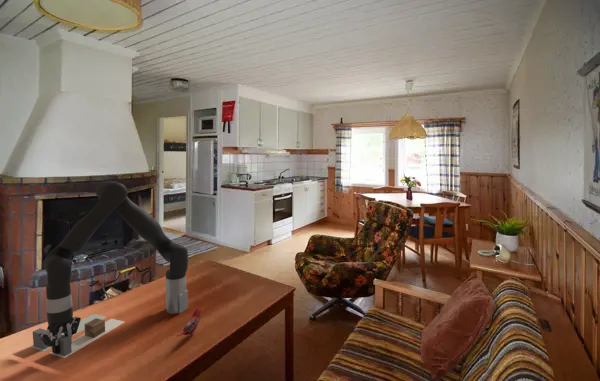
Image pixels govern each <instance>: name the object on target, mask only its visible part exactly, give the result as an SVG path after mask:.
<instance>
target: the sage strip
mask: <svg viewBox="0 0 600 381" xmlns="http://www.w3.org/2000/svg"><path fill="white" fill-rule="evenodd" d="M95 318H97V319H101V320H105V319H106V318H107V316H104V315H99V314H96V313H92V314H91V315H89V316H87V317H85V318H82V319H81V320H80V323H79V327H78V330H77V333H76V334H73V335H72V337H73V336H75V335H77V334H79V333H81V332H83V331H85V325H84V324H86V323H88V322H90V321H91V320H93V319H95ZM70 327H71V326H70ZM46 330H47V329H44V328H41V327H40V328H38V329H35V330H33V331H32V342H33V343H32V344H33V345H30V346H29V347H30V348H31V349H35V350H38V351H41V352H46V351H48V350H49V349H52V347H50V346H47V345H45V344H44V342H43V341H42V340H41V338H40V337H39V334H40V333H44V332H45V331H46ZM61 335H64V333H62V334H61ZM49 338H50V340H51V333H49Z"/></svg>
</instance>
